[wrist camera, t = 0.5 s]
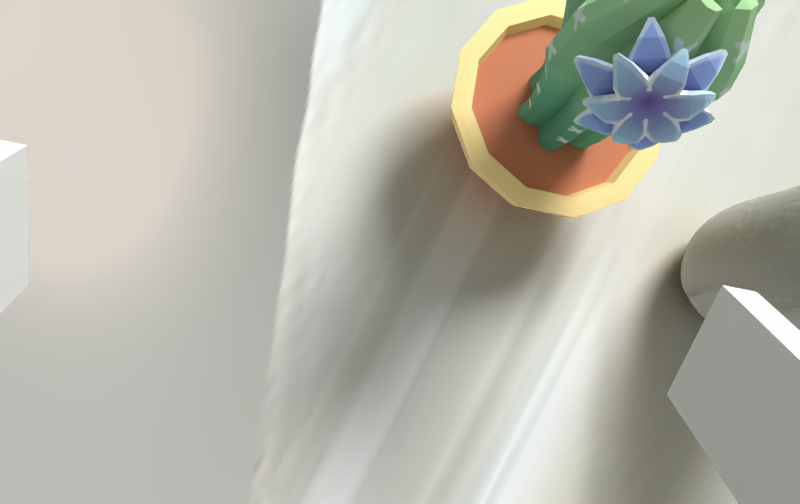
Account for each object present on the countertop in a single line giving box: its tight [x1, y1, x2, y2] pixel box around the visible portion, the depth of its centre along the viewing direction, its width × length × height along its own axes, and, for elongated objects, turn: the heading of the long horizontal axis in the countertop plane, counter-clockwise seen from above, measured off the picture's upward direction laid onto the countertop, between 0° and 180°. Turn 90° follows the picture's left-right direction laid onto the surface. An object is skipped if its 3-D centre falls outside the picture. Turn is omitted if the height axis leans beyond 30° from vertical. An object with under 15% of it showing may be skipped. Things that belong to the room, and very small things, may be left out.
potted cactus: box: [450, 0, 765, 218], centre depth 39 cm, size 15×15×25 cm
